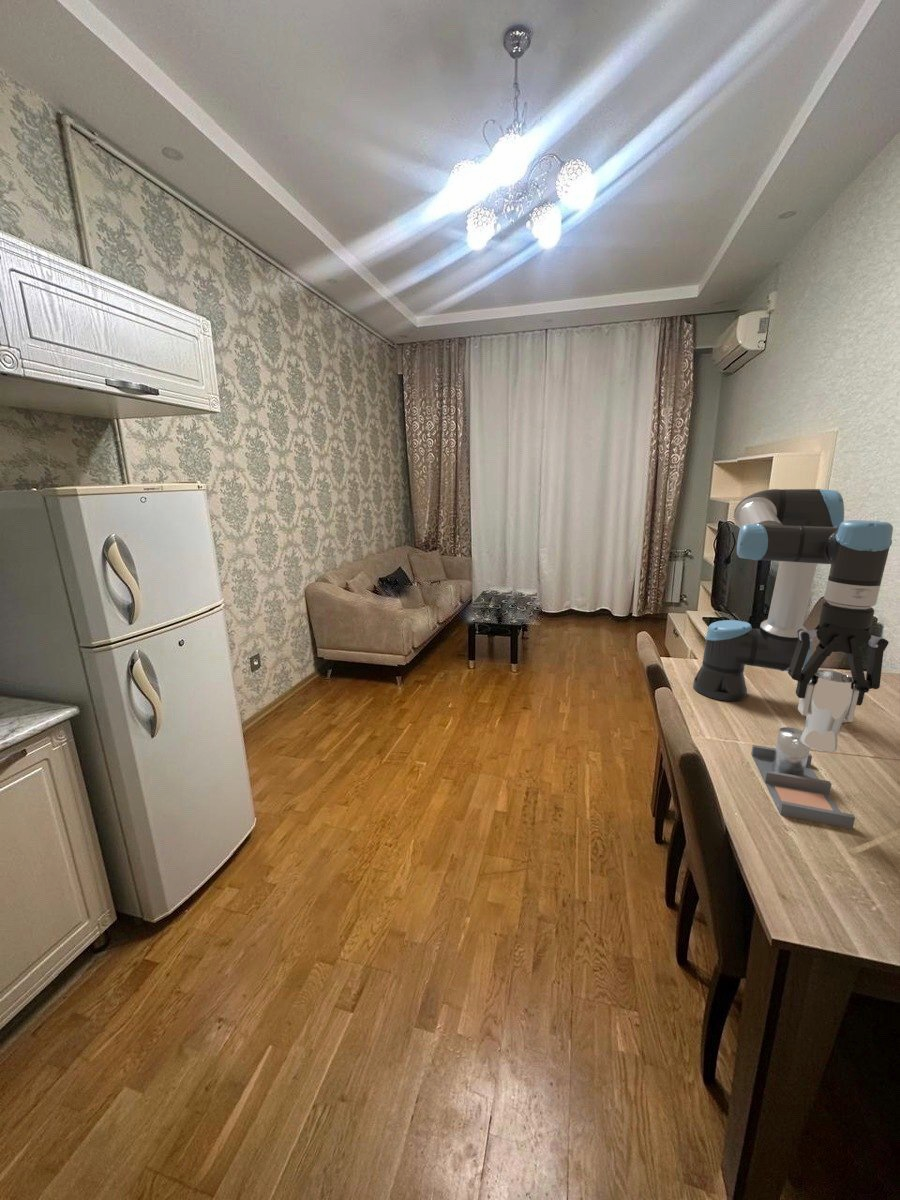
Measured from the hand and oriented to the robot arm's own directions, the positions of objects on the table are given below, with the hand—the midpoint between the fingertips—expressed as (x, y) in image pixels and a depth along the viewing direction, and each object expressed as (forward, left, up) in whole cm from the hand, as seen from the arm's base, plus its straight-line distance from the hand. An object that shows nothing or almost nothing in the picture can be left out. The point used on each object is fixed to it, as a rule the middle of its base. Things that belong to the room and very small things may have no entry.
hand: (824, 715), depth 93 cm
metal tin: (-9, +7, -20) cm, 23 cm away
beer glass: (0, 0, -7) cm, 7 cm away
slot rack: (-4, +4, -21) cm, 22 cm away
